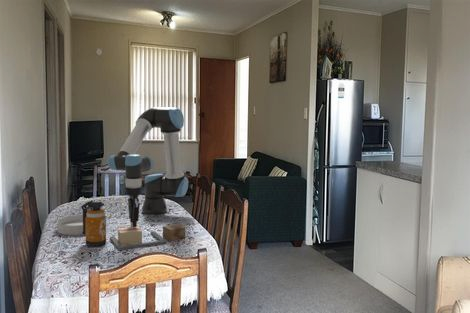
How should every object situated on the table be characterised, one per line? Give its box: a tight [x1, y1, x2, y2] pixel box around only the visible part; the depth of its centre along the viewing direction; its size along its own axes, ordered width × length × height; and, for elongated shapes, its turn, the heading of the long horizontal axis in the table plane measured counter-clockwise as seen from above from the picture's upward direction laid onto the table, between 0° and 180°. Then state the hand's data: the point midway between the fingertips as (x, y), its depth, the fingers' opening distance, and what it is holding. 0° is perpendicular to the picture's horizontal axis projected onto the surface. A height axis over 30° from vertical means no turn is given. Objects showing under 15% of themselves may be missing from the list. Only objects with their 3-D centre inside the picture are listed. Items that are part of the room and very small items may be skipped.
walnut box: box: [162, 223, 186, 243], centre depth 196 cm, size 8×8×6 cm
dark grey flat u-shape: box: [109, 230, 167, 251], centre depth 191 cm, size 22×18×1 cm
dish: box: [56, 214, 83, 236], centre depth 209 cm, size 22×22×5 cm
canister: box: [80, 200, 107, 247], centre depth 185 cm, size 9×11×20 cm
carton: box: [117, 226, 143, 246], centre depth 190 cm, size 10×8×6 cm
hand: (133, 234), depth 197 cm, fingers closed
